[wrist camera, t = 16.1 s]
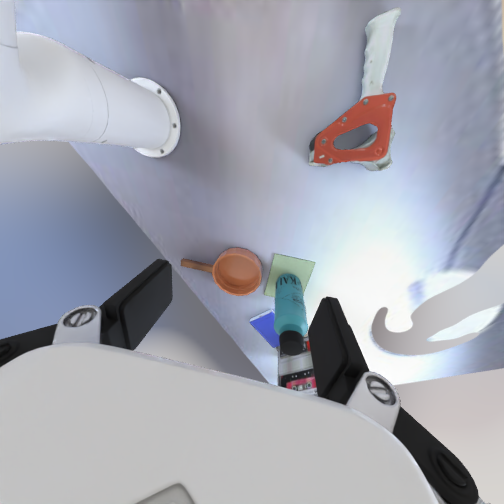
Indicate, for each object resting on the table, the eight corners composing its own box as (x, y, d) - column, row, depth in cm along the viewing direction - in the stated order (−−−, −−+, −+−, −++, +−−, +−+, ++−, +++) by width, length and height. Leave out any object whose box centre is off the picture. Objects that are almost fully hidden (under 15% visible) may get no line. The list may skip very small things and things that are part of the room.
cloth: (264, 294, 52) (264, 295, 51) (274, 253, 46) (274, 254, 45) (299, 302, 51) (299, 303, 51) (315, 262, 45) (315, 262, 45)
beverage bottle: (294, 293, 50) (301, 367, 32) (271, 284, 49) (265, 354, 32) (305, 274, 47) (321, 345, 29) (281, 265, 46) (281, 330, 29)
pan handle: (183, 263, 48) (180, 265, 47) (182, 258, 47) (180, 260, 46) (214, 270, 48) (213, 273, 47) (215, 265, 47) (213, 267, 46)
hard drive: (295, 339, 55) (271, 312, 52) (273, 348, 58) (249, 322, 55) (295, 335, 57) (272, 308, 53) (273, 344, 60) (249, 318, 56)
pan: (214, 282, 52) (210, 289, 49) (218, 242, 46) (214, 248, 43) (257, 291, 51) (256, 300, 48) (266, 253, 46) (265, 260, 43)
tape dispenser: (379, 15, 28) (279, 130, 35) (401, -20, 23) (279, 123, 30) (442, 111, 31) (339, 200, 38) (474, 98, 26) (348, 203, 33)
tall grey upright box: (317, 332, 55) (342, 449, 33) (325, 345, 57) (355, 464, 35) (276, 345, 60) (274, 454, 38) (285, 357, 62) (289, 467, 40)
